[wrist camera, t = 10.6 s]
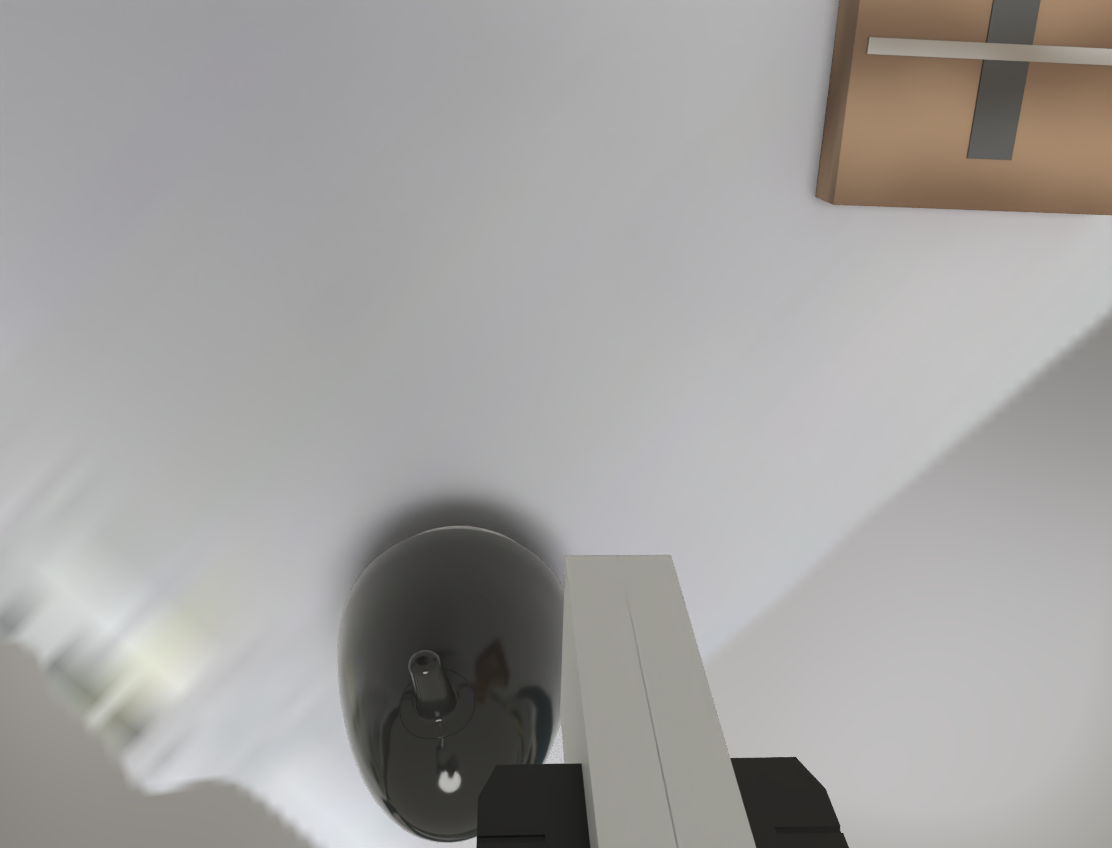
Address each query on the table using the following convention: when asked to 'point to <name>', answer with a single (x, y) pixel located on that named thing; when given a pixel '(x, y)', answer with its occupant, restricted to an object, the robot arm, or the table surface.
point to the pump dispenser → (449, 673)
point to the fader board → (970, 106)
